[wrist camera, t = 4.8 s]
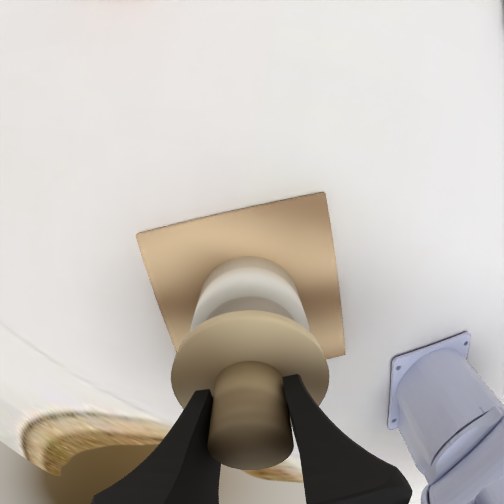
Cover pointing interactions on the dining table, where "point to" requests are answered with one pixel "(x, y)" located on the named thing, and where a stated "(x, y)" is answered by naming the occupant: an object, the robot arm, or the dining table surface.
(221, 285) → the jar
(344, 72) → the dining table surface
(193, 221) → the square wooden coaster
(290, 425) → the lid
